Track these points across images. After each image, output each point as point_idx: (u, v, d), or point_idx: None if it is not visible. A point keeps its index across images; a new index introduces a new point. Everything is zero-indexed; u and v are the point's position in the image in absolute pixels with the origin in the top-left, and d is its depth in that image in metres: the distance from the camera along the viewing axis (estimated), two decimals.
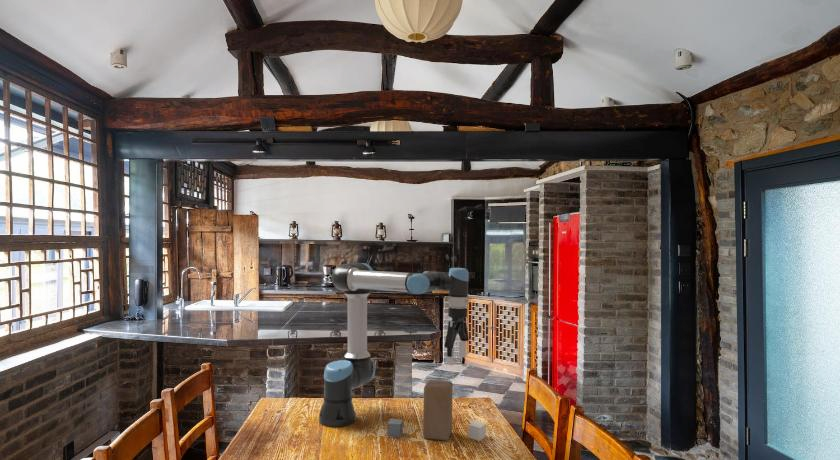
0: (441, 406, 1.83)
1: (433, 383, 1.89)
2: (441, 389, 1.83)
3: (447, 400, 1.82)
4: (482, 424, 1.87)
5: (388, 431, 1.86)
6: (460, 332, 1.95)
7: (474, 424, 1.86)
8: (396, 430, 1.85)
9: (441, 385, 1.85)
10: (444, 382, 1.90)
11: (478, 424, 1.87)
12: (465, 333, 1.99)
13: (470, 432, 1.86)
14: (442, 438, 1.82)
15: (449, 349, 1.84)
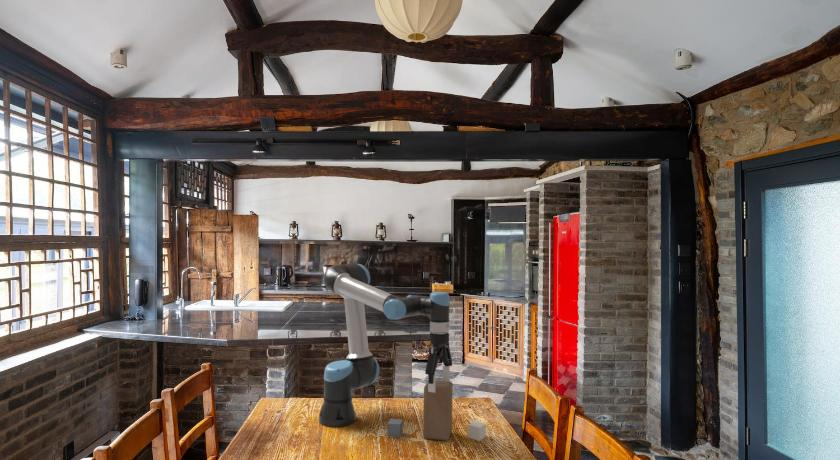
0: (441, 406, 1.83)
1: None
2: (441, 389, 1.83)
3: (447, 400, 1.82)
4: (482, 424, 1.87)
5: (388, 431, 1.86)
6: (443, 357, 1.92)
7: (474, 424, 1.86)
8: (396, 430, 1.85)
9: (441, 385, 1.85)
10: (444, 382, 1.90)
11: (478, 424, 1.87)
12: (448, 358, 1.95)
13: (470, 432, 1.86)
14: (442, 438, 1.82)
15: (430, 376, 1.80)
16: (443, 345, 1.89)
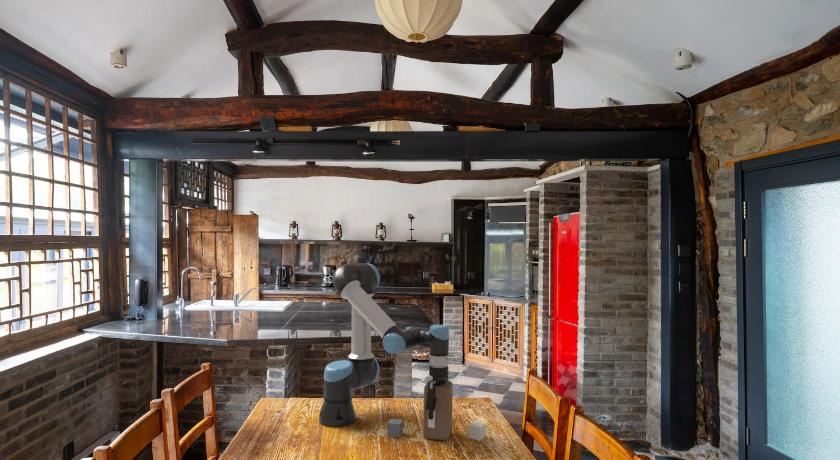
0: (441, 406, 1.83)
1: None
2: (441, 389, 1.83)
3: (447, 400, 1.82)
4: (482, 424, 1.87)
5: (388, 431, 1.86)
6: None
7: (474, 424, 1.86)
8: (396, 430, 1.85)
9: (441, 385, 1.85)
10: None
11: (478, 424, 1.87)
12: None
13: (470, 432, 1.86)
14: (442, 438, 1.82)
15: (430, 412, 1.81)
16: (442, 378, 1.89)
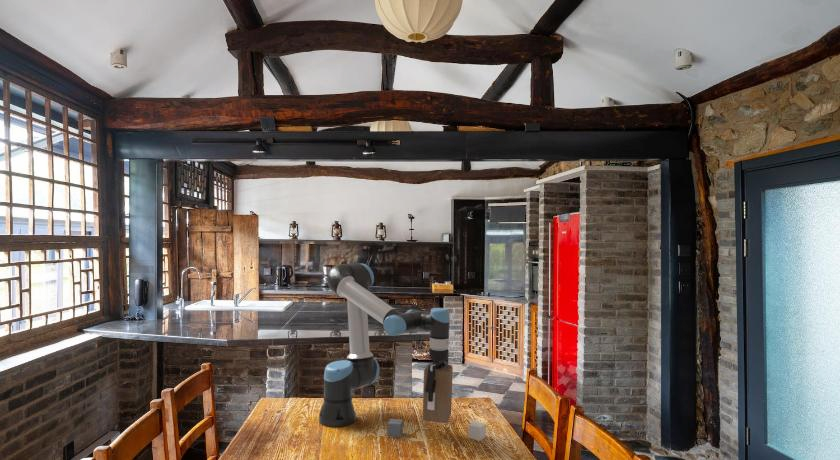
0: (441, 389, 1.83)
1: None
2: (441, 372, 1.83)
3: (447, 383, 1.82)
4: (482, 424, 1.87)
5: (388, 431, 1.86)
6: None
7: (474, 424, 1.86)
8: (396, 430, 1.85)
9: (441, 368, 1.85)
10: None
11: (478, 424, 1.87)
12: None
13: (470, 432, 1.86)
14: (441, 420, 1.83)
15: (430, 394, 1.81)
16: (442, 361, 1.89)
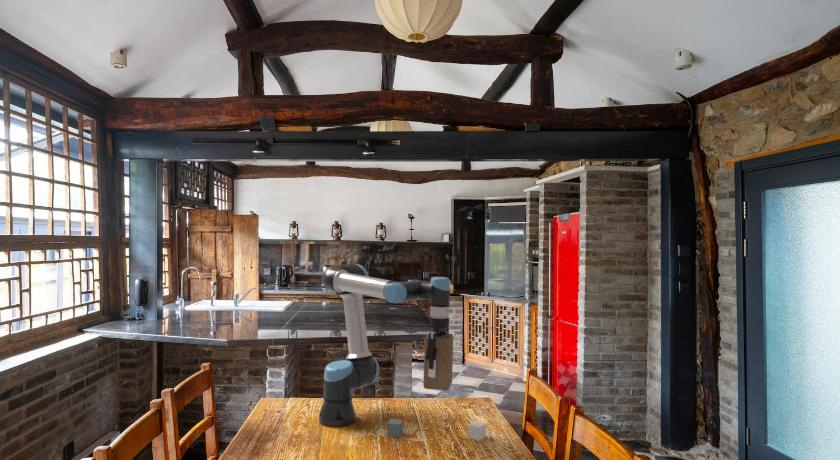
0: (442, 356, 1.83)
1: None
2: (442, 339, 1.83)
3: (448, 350, 1.83)
4: (482, 424, 1.87)
5: (388, 431, 1.86)
6: None
7: (474, 424, 1.86)
8: (396, 430, 1.85)
9: (442, 336, 1.85)
10: None
11: (478, 424, 1.87)
12: None
13: (470, 432, 1.86)
14: (442, 388, 1.83)
15: (431, 361, 1.81)
16: (443, 329, 1.89)
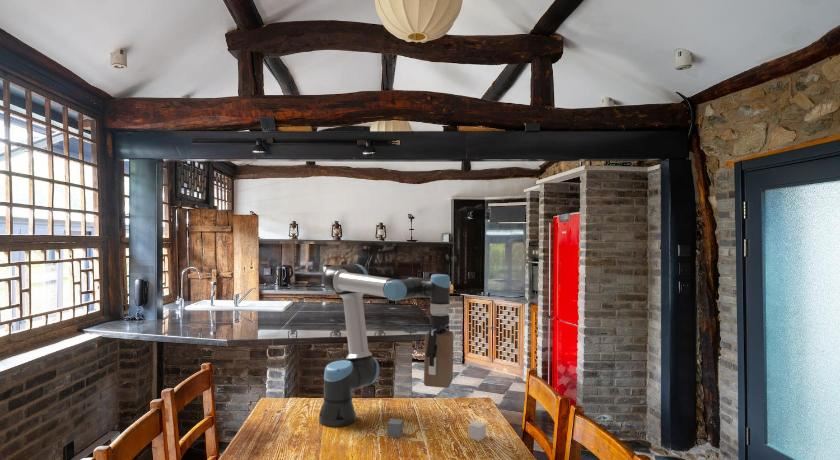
0: (442, 354, 1.83)
1: None
2: (442, 336, 1.83)
3: (448, 347, 1.83)
4: (482, 424, 1.87)
5: (388, 431, 1.86)
6: None
7: (474, 424, 1.86)
8: (396, 430, 1.85)
9: None
10: None
11: (478, 424, 1.87)
12: None
13: (470, 432, 1.86)
14: (443, 385, 1.83)
15: (431, 359, 1.81)
16: (443, 327, 1.89)
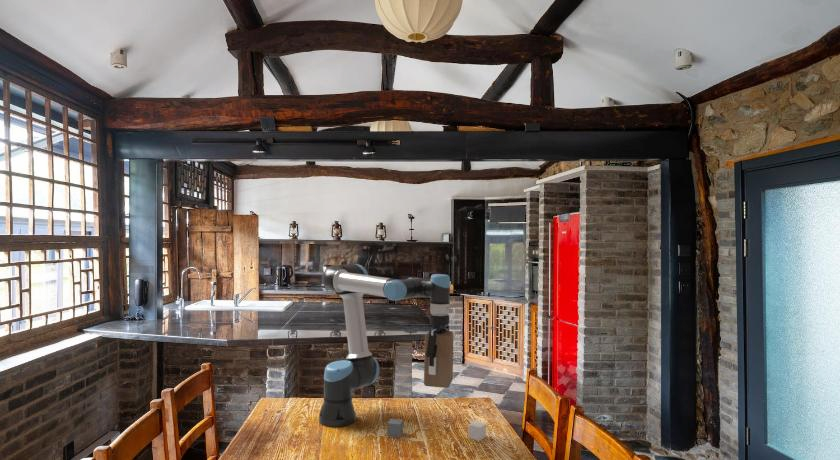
0: (442, 354, 1.83)
1: None
2: (442, 336, 1.83)
3: (448, 347, 1.83)
4: (482, 424, 1.87)
5: (388, 431, 1.86)
6: None
7: (474, 424, 1.86)
8: (396, 430, 1.85)
9: None
10: None
11: (478, 424, 1.87)
12: None
13: (470, 432, 1.86)
14: (443, 385, 1.83)
15: (431, 359, 1.81)
16: (443, 327, 1.89)
